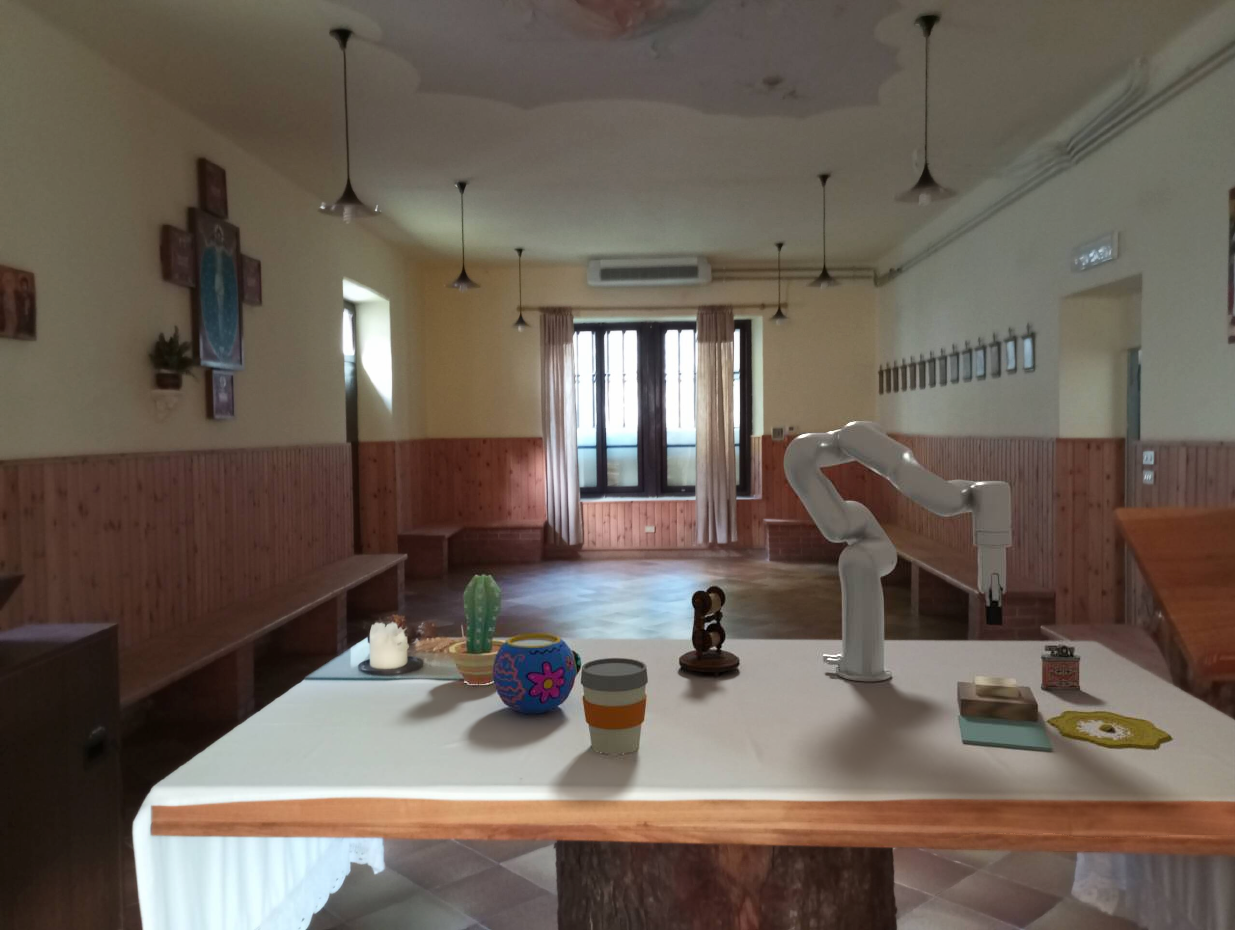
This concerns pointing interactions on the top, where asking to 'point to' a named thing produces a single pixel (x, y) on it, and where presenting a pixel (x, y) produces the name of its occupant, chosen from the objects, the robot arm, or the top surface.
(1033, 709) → the brown flat block
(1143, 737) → the decorative medallion
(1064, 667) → the lighter
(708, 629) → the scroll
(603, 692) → the reusable coffee cup
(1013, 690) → the tile
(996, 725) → the mat
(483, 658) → the potted cactus
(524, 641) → the ceramic pot
